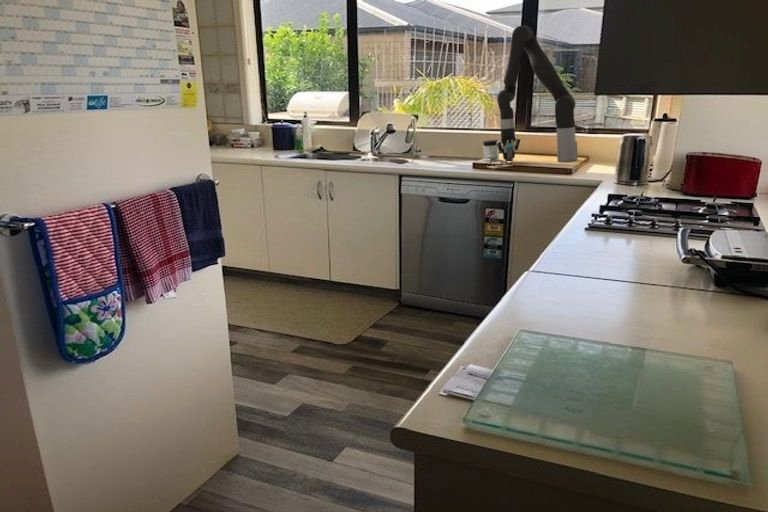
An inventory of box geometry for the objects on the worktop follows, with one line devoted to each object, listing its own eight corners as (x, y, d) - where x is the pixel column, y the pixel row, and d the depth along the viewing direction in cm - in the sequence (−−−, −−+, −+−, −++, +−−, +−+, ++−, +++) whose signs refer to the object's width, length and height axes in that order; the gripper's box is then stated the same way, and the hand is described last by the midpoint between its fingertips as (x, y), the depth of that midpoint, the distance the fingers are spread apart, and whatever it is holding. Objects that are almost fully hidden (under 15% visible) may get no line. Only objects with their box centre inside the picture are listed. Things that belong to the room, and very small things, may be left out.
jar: (486, 163, 336) (484, 142, 332) (482, 161, 343) (480, 141, 340) (501, 161, 337) (500, 140, 333) (496, 159, 344) (495, 139, 341)
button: (494, 159, 331) (494, 154, 330) (498, 160, 326) (498, 155, 326) (486, 160, 330) (486, 155, 329) (490, 161, 325) (490, 156, 325)
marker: (510, 161, 330) (509, 142, 327) (514, 162, 326) (513, 142, 324) (504, 162, 329) (503, 143, 326) (507, 163, 326) (506, 143, 323)
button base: (495, 162, 333) (495, 158, 332) (501, 164, 326) (501, 159, 326) (484, 164, 331) (484, 160, 330) (489, 165, 325) (489, 161, 324)
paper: (506, 163, 325) (506, 163, 325) (514, 165, 316) (514, 164, 316) (486, 166, 322) (486, 166, 322) (493, 168, 314) (493, 167, 314)
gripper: (498, 129, 317) (500, 161, 322) (522, 126, 321) (524, 157, 325) (492, 128, 324) (494, 160, 329) (516, 125, 328) (517, 156, 332)
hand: (509, 158), depth 327 cm, fingers closed on marker, 3 cm apart
